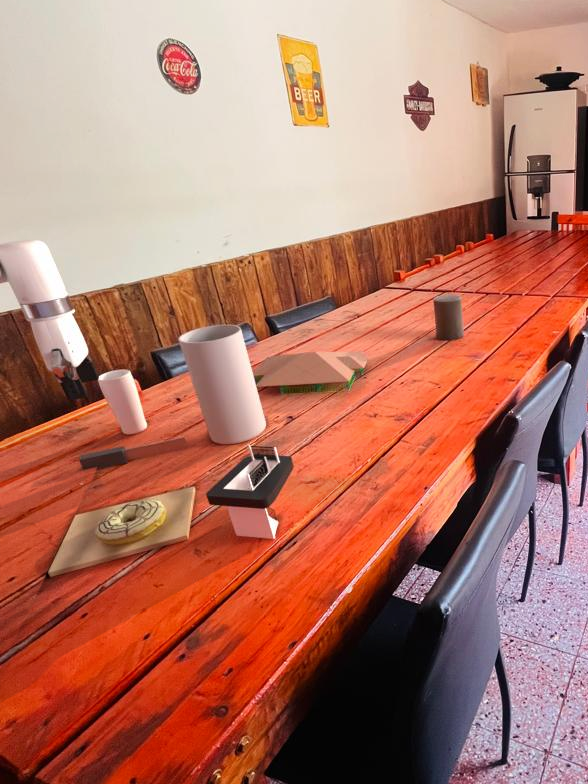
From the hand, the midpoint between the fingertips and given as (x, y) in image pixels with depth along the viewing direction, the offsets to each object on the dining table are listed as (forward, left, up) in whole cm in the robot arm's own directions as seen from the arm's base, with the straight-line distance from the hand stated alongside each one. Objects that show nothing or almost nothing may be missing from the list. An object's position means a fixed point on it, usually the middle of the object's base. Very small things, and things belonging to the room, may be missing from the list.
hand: (84, 389), depth 105 cm
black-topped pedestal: (+30, -37, -19) cm, 51 cm away
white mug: (+1, +16, -18) cm, 24 cm away
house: (+45, +28, -18) cm, 56 cm away
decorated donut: (+8, -29, -18) cm, 35 cm away
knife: (+3, 0, -18) cm, 18 cm away
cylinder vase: (+25, +2, -18) cm, 31 cm away
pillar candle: (+94, +43, -18) cm, 105 cm away
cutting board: (+7, -28, -18) cm, 34 cm away
